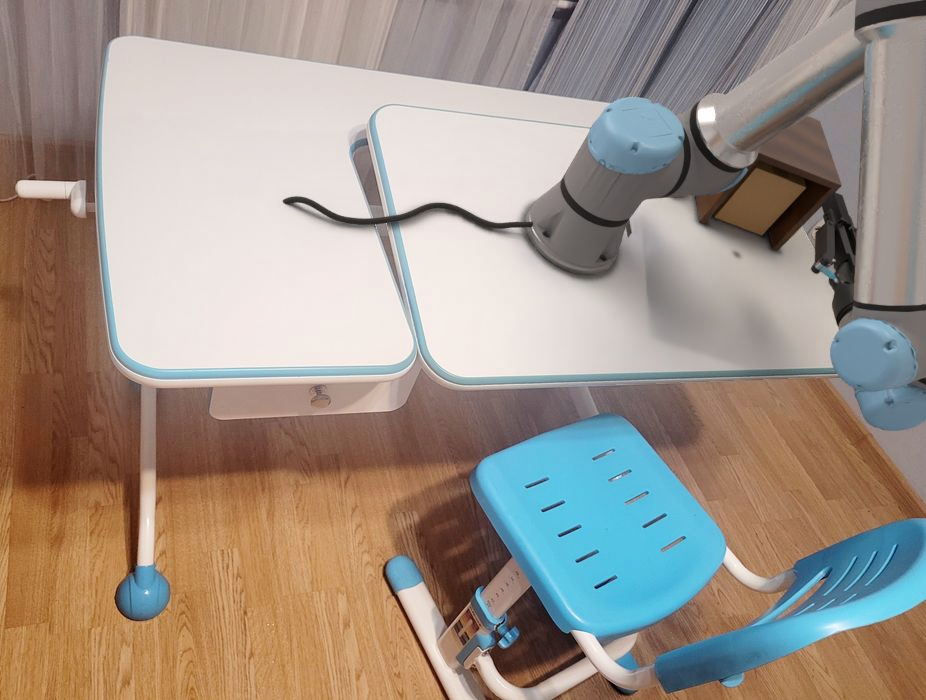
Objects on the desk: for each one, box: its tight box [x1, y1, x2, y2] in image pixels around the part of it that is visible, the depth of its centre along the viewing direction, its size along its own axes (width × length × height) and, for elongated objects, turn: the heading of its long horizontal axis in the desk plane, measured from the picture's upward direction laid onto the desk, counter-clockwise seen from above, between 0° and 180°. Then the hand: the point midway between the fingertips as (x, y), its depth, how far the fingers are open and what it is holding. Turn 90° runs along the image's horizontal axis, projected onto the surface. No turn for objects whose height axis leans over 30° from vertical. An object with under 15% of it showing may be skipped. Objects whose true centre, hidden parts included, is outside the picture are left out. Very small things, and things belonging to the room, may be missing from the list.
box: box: [713, 160, 806, 236], centre depth 137 cm, size 14×10×12 cm
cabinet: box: [695, 115, 843, 252], centre depth 135 cm, size 18×16×16 cm
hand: (831, 200), depth 113 cm, fingers closed
